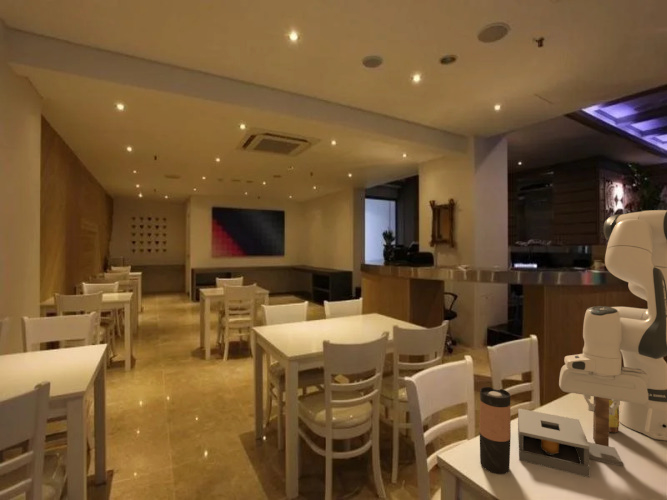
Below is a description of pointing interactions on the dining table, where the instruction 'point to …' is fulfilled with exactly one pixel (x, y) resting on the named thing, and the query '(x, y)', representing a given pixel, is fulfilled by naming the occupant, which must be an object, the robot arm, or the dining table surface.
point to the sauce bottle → (614, 419)
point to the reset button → (550, 446)
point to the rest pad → (604, 454)
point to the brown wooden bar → (601, 421)
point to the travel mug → (495, 430)
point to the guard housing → (553, 440)
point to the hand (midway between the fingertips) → (600, 412)
